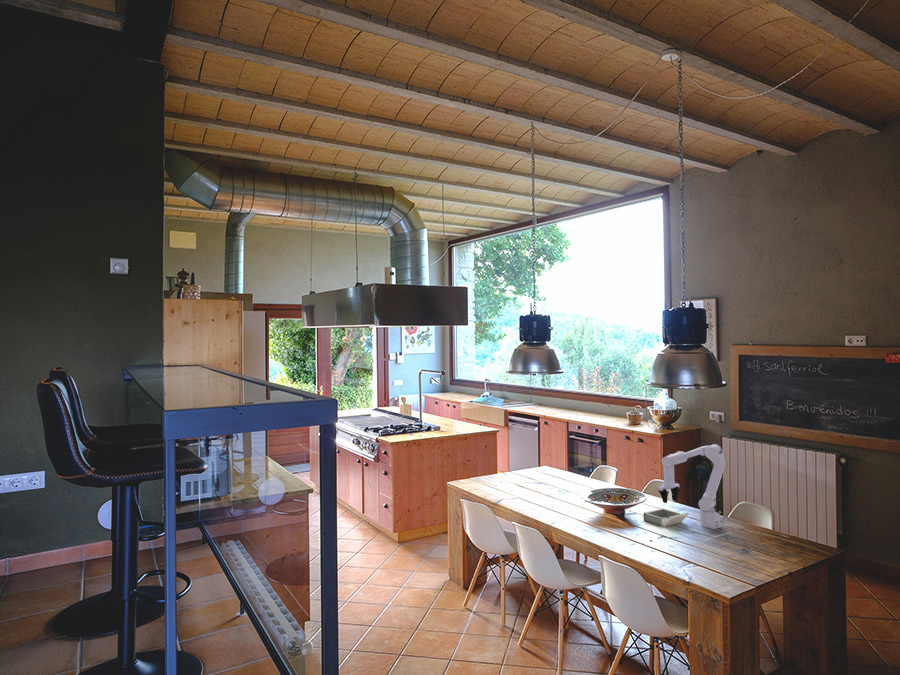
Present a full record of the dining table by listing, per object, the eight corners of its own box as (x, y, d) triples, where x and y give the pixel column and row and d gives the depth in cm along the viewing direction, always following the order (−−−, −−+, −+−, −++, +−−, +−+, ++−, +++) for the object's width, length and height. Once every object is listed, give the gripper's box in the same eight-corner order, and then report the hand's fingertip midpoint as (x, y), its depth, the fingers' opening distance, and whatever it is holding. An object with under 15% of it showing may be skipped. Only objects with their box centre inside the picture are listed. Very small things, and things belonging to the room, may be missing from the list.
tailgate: (688, 514, 292) (687, 512, 292) (671, 518, 285) (670, 516, 285) (680, 523, 296) (679, 521, 297) (663, 527, 289) (661, 526, 290)
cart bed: (680, 522, 297) (680, 513, 298) (660, 527, 290) (660, 518, 290) (663, 517, 307) (663, 508, 307) (643, 521, 299) (643, 512, 300)
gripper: (671, 474, 312) (672, 498, 311) (654, 477, 305) (655, 502, 304) (682, 476, 306) (683, 501, 305) (664, 480, 299) (665, 504, 298)
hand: (669, 501), depth 304 cm, fingers open, 7 cm apart
